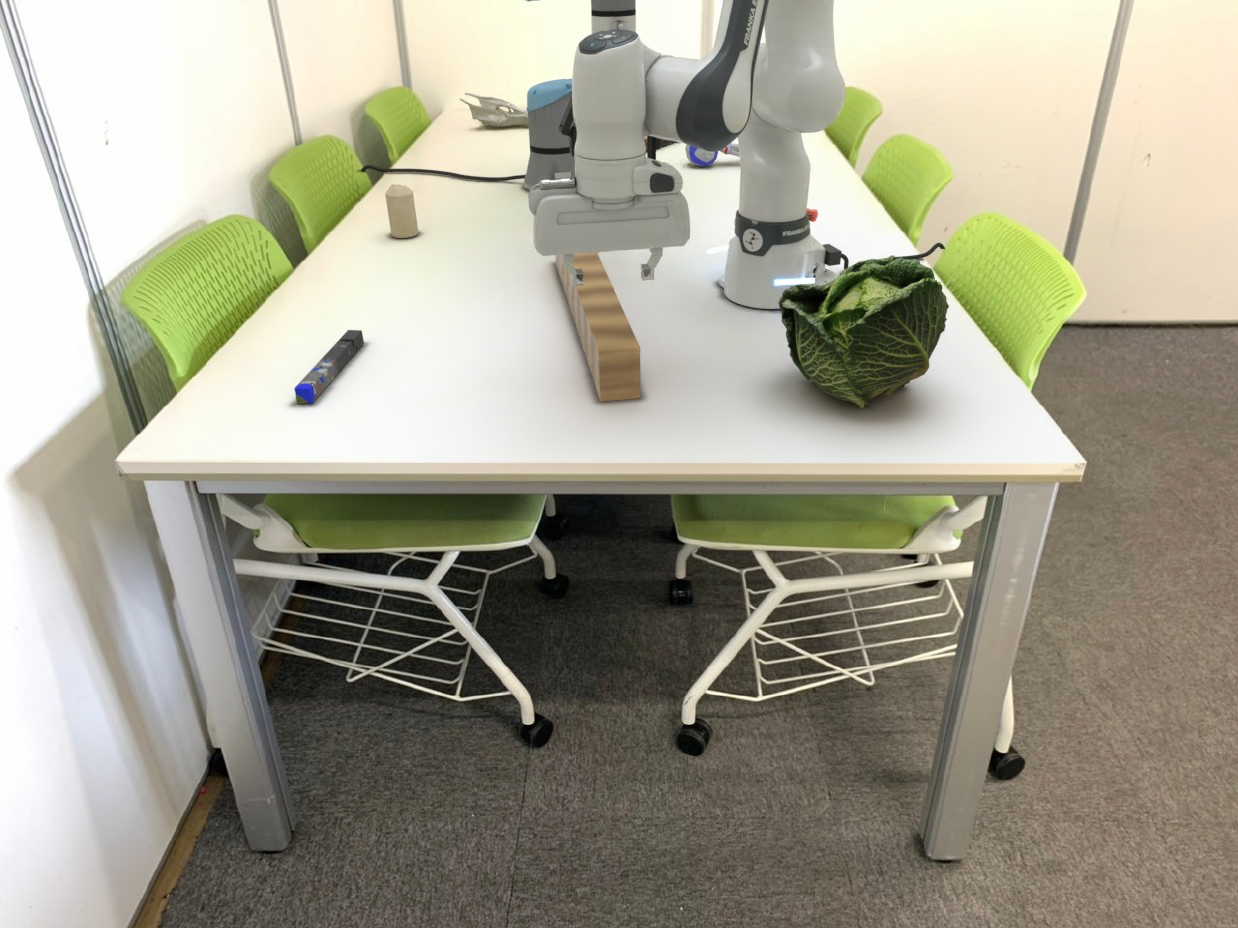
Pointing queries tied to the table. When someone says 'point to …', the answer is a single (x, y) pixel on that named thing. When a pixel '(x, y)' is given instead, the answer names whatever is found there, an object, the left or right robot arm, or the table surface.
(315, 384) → the pillar
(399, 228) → the candle
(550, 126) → the left robot arm
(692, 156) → the toy
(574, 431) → the table surface
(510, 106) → the anatomical model
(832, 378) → the vegetable
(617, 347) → the beam
